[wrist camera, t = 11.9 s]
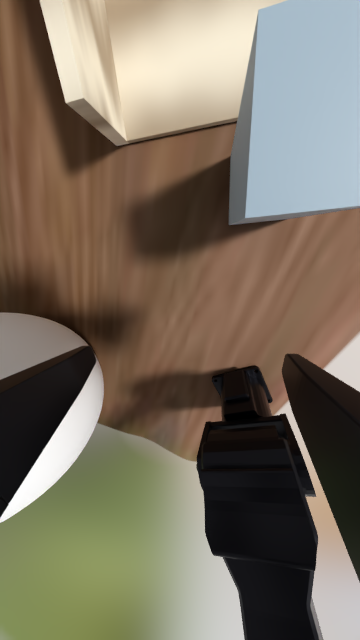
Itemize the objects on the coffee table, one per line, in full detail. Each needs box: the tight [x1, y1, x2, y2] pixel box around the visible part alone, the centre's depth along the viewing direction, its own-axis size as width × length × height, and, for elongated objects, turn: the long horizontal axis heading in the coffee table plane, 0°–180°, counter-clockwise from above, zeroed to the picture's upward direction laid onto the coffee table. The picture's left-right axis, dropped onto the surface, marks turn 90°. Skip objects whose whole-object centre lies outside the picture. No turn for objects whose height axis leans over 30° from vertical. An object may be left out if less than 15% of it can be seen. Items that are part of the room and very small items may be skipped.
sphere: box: [0, 313, 104, 523], centre depth 19 cm, size 20×20×20 cm
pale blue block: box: [229, 0, 360, 225], centre depth 10 cm, size 5×5×11 cm
